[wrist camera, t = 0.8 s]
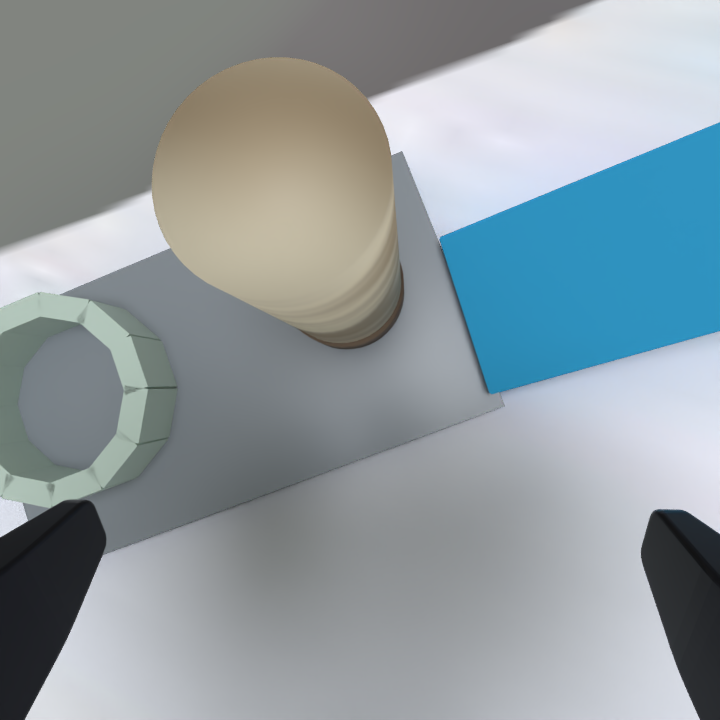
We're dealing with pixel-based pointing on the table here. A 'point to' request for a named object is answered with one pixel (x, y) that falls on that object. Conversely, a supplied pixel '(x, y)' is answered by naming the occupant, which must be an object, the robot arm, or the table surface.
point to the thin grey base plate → (218, 388)
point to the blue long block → (595, 266)
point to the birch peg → (285, 198)
